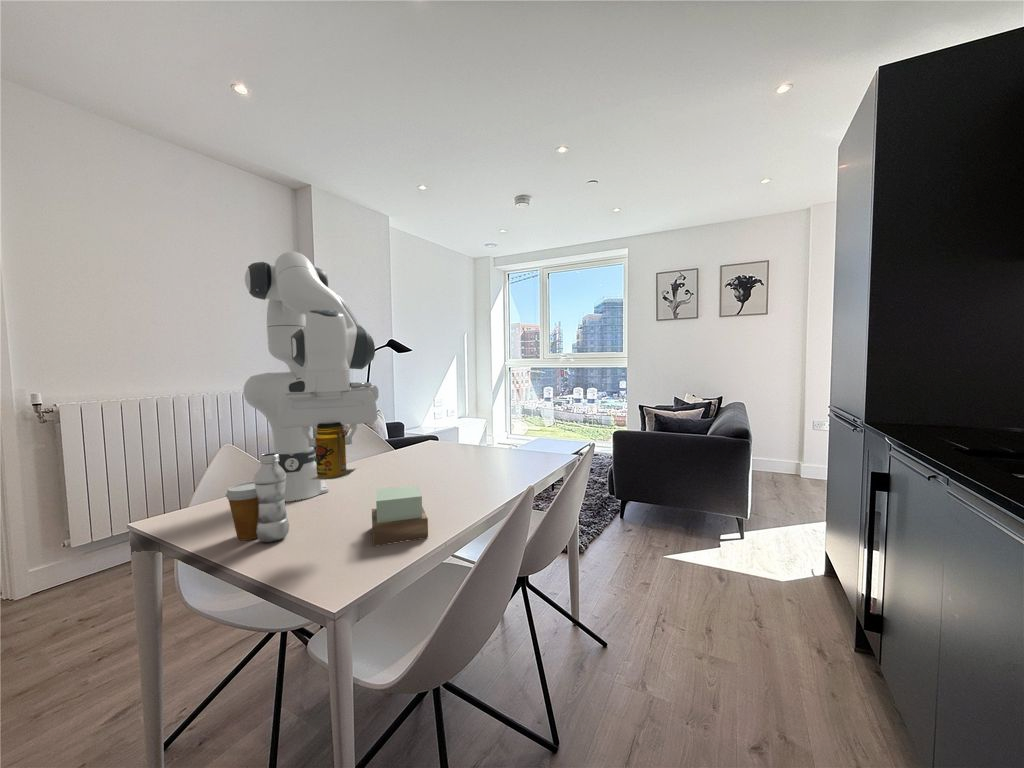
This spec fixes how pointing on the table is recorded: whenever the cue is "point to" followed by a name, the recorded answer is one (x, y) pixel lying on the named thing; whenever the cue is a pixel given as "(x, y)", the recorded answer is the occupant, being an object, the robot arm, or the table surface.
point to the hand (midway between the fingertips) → (330, 445)
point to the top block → (398, 503)
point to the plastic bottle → (271, 499)
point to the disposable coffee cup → (244, 509)
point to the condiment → (331, 452)
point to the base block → (399, 529)
